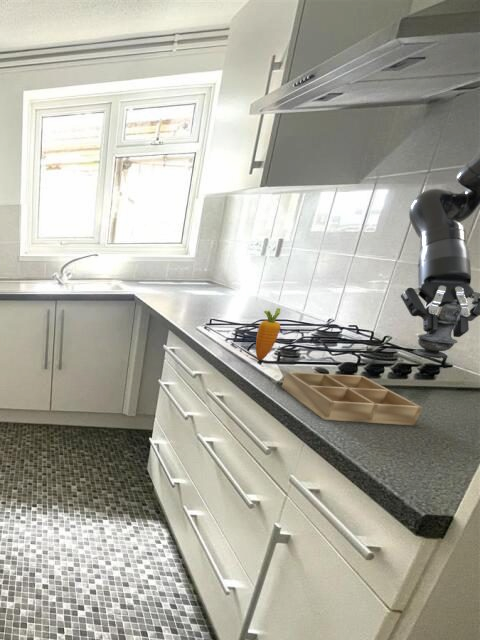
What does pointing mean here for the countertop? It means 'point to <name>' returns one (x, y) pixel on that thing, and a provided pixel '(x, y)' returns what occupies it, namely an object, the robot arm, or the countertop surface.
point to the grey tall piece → (440, 333)
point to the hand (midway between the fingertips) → (445, 333)
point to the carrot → (267, 334)
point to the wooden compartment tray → (350, 398)
